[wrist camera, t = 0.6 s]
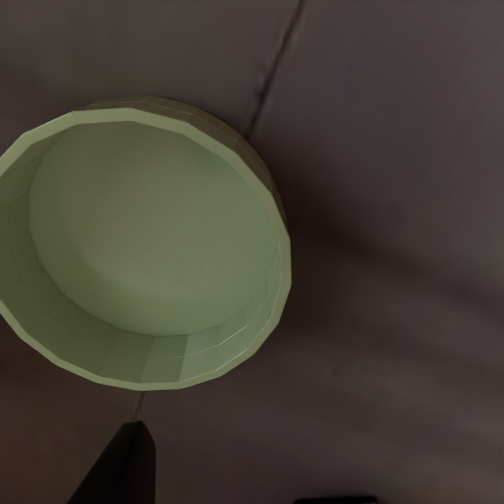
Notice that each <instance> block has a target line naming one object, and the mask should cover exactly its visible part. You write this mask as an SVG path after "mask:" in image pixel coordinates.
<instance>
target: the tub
mask: <svg viewBox="0 0 504 504" xmlns="http://www.w3.org/2000/svg"><path fill="white" fill-rule="evenodd" d="M291 283H292V275H291V245H290V236H289V231H288V225H287V220H286V214H285V209H284V206H283V203H282V201H281V198H280V195H279V192H278V189H277V187H276V184H275V182H274V180H273V177H272V175H271V173H270V170H269V169H268V167H267V166H266V165H265V163H264V161H263V160H262V159H261V158H260V156H259V155H258V154H257V152H256V151H255V150H254V148H253V147H252V146H251V145H250V144H249V143H248V142H247V141H246V140H245V139H244V138H243V137H242V136H241V135H240V134H239V133H238V132H236V131H235V130H234V129H232V128H231V127H230V126H229V125H227V124H226V123H225V122H223V121H222V120H220V119H218V118H216V117H215V116H213V115H211V114H209V113H208V112H206V111H203V110H201V109H199V108H196V107H194V106H191V105H189V104H186V103H182V102H178V101H175V100H171V99H165V98H158V97H154V96H152V97H151V96H132V97H124V98H117V99H105V100H101V101H99V102H96V103H93V104H90V105H88V106H85V107H82V108H80V109H77V110H74V111H72V112H69V113H67V114H65V115H62V116H60V117H58V118H56V119H54V120H52V121H49V122H47V123H45V124H43V125H41V126H38V127H36V128H34V129H32V130H30V131H27V132H25V133H23V134H22V135H21V136H20V137H19V138H18V139H17V140H16V141H15V142H14V143H13V144H12V145H11V146H10V148H9V149H8V150H7V151H6V152H5V153H4V154H3V155H2V156H1V157H0V314H1V315H2V316H3V317H4V319H5V320H6V321H7V322H8V324H9V325H10V326H11V328H12V329H13V330H14V331H15V333H16V334H17V335H18V336H19V337H20V338H21V339H22V340H23V341H25V342H26V343H27V344H29V345H30V346H31V347H33V348H34V349H35V350H36V351H38V352H39V353H40V354H42V355H43V356H44V357H46V358H47V359H48V360H50V361H51V362H52V363H54V364H55V365H57V366H59V367H61V368H63V369H66V370H68V371H70V372H73V373H75V374H77V375H79V376H82V377H84V378H86V379H88V380H91V381H93V382H95V383H96V382H97V383H99V384H105V385H110V386H115V387H121V388H126V389H131V390H137V391H139V390H140V391H149V390H169V389H181V388H182V389H183V388H186V387H189V386H192V385H196V384H199V383H202V382H205V381H208V380H212V379H215V378H218V377H220V376H222V375H224V374H225V373H227V372H228V371H230V370H231V369H233V368H234V367H236V366H237V365H239V364H240V363H242V362H243V361H245V360H246V359H248V358H249V357H251V356H253V354H255V352H256V351H257V350H258V349H259V347H260V346H261V345H262V344H263V342H264V341H265V340H266V339H267V337H268V336H269V335H270V333H271V332H272V331H273V330H274V328H275V327H276V326H277V325H278V323H279V321H280V318H281V315H282V312H283V309H284V306H285V303H286V300H287V297H288V294H289V291H290V288H291Z"/></svg>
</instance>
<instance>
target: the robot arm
mask: <svg viewBox="0 0 504 504" xmlns="http://www.w3.org/2000/svg"><path fill="white" fill-rule="evenodd" d="M155 475H156V448H155V443H154V441H153V438H152V436H151V434H150V432H149V430H148V428H147V426H146V424H145V422H144V421H143V420H141V419H138V420H133V421H127V422H125V423H123V424H122V425H121V427H120V428H119V429H118V431H117V432H116V434H115V435H114V437H113V438H112V439H111V441H110V442H109V444H108V445H107V447H106V448H105V449H104V451H103V452H102V454H101V455H100V456H99V458H98V459H97V461H96V462H95V464H94V465H93V466H92V468H91V469H90V471H89V472H88V474H87V475H86V476H85V478H84V479H83V481H82V482H81V484H80V485H79V486H78V488H77V489H76V491H75V492H74V494H73V495H72V496H71V498H70V499H69V501H68V502H67V503H66V504H155ZM293 504H378V501H377V499H376V498H347V499H322V500H298V501H295V502H294V503H293Z"/></svg>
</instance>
